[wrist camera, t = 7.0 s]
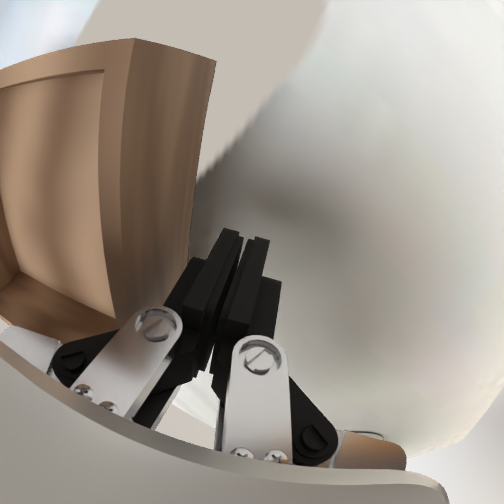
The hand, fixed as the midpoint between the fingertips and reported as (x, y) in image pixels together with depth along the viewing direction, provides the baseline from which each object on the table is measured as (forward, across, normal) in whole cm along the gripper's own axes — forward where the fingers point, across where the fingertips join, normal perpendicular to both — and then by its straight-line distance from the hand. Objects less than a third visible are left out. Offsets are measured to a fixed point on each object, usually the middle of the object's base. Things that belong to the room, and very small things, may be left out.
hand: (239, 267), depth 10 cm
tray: (+5, +10, 0) cm, 11 cm away
